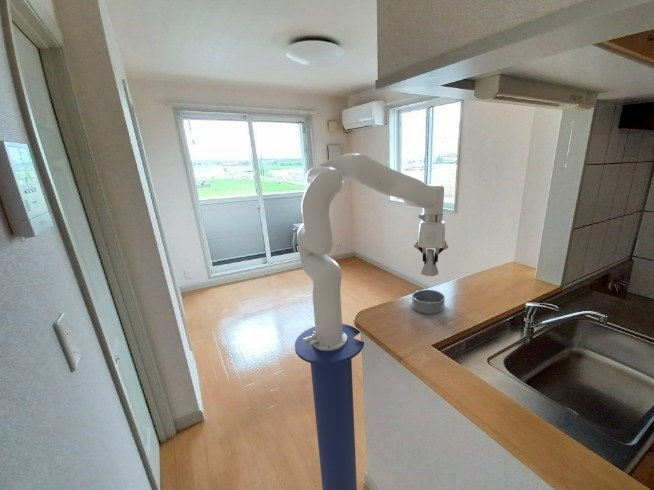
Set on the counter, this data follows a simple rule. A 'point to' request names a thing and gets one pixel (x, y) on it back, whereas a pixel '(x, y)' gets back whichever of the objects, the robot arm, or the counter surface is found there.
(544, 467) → the counter surface
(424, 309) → the bowl
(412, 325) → the counter surface
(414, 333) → the counter surface
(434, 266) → the flask
